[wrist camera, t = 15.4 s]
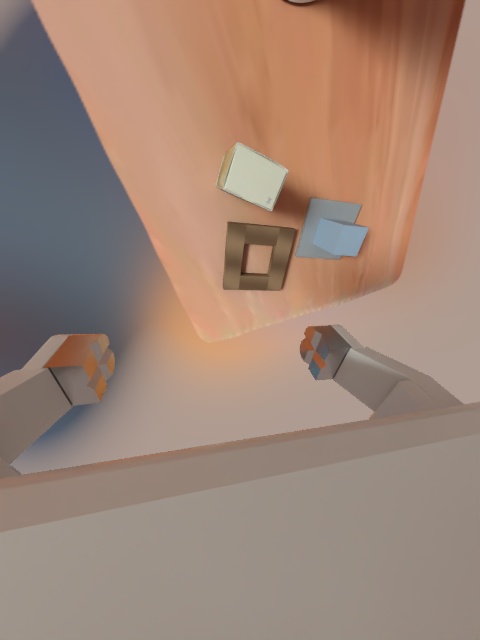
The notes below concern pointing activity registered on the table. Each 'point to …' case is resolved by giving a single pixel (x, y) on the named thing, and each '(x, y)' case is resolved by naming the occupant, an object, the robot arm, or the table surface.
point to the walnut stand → (262, 236)
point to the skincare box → (251, 176)
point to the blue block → (339, 237)
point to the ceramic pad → (311, 222)
